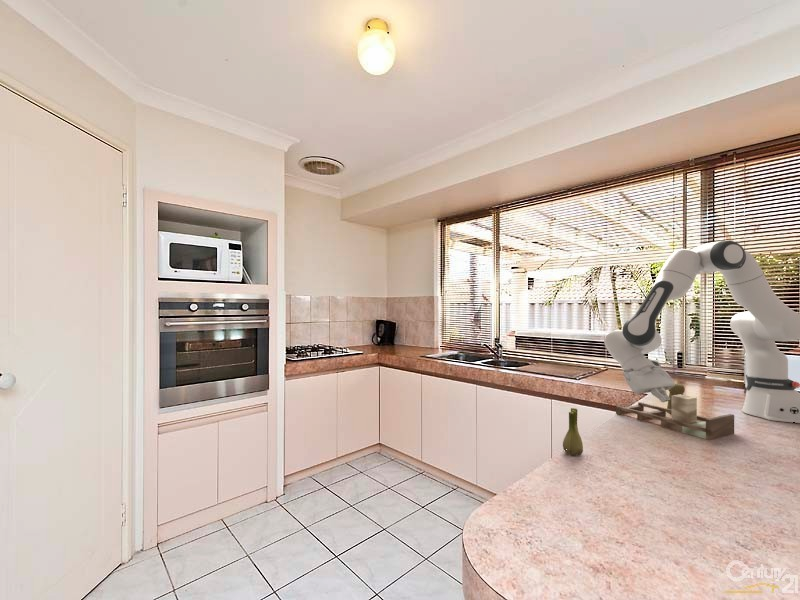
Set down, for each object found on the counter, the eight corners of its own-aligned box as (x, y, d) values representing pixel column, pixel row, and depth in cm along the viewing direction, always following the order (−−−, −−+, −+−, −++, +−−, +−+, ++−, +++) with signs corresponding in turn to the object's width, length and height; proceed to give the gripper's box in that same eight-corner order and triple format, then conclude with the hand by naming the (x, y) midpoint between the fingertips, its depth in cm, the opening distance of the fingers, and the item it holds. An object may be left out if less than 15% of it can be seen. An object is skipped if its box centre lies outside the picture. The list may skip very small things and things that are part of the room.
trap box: (734, 433, 120) (734, 414, 120) (709, 439, 114) (709, 419, 114) (639, 410, 147) (639, 394, 147) (615, 413, 141) (615, 397, 142)
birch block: (696, 421, 126) (696, 397, 126) (687, 423, 124) (687, 398, 124) (680, 417, 130) (680, 394, 130) (671, 419, 128) (671, 395, 128)
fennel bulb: (573, 458, 99) (573, 412, 99) (557, 452, 103) (557, 407, 103) (587, 455, 101) (587, 409, 102) (571, 448, 106) (572, 405, 106)
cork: (679, 411, 146) (679, 382, 147) (690, 415, 140) (690, 385, 140) (663, 410, 147) (662, 382, 147) (672, 415, 141) (672, 385, 141)
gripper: (625, 364, 135) (654, 398, 126) (661, 361, 143) (690, 393, 134) (614, 375, 139) (641, 408, 130) (649, 371, 147) (676, 403, 138)
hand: (666, 400), depth 132 cm, fingers closed
